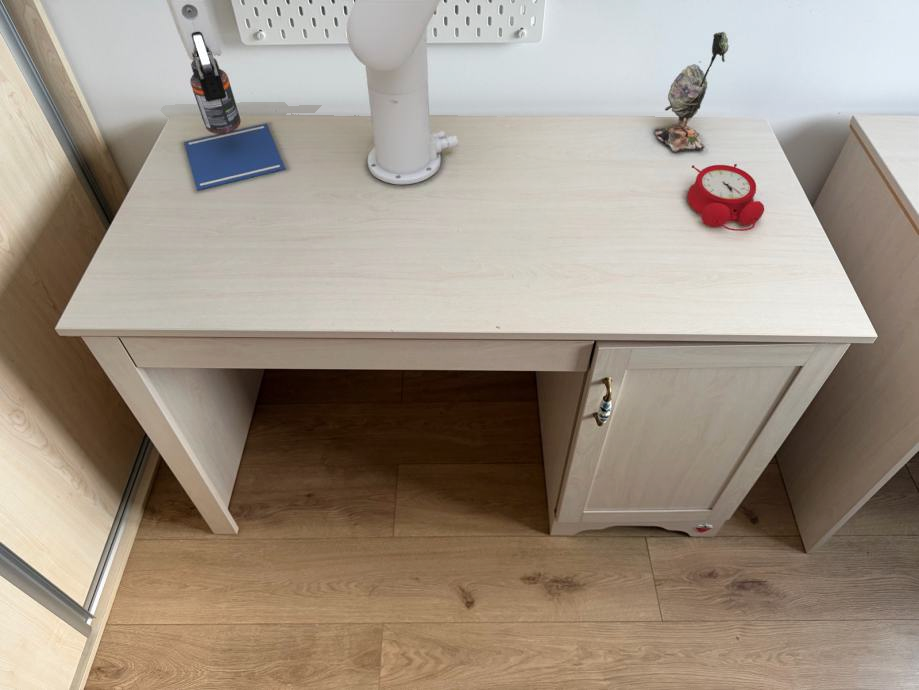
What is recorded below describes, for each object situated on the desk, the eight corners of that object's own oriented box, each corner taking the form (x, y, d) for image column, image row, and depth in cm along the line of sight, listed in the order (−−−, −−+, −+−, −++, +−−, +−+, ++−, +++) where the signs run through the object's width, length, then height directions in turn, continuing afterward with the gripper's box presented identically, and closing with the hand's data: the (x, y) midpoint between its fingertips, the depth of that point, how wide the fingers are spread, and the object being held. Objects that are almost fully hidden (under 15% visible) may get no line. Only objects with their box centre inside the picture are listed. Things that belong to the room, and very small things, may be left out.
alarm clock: (745, 159, 111) (784, 198, 99) (736, 194, 115) (773, 236, 103) (682, 161, 111) (714, 201, 99) (676, 196, 115) (706, 239, 103)
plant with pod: (692, 119, 125) (724, 9, 110) (706, 155, 118) (742, 43, 103) (649, 119, 125) (674, 10, 110) (660, 155, 118) (689, 43, 103)
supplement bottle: (213, 115, 117) (193, 51, 108) (246, 117, 116) (228, 53, 107) (200, 134, 113) (178, 70, 104) (234, 137, 112) (215, 72, 104)
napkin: (266, 124, 125) (266, 123, 125) (285, 169, 116) (285, 167, 116) (184, 143, 122) (183, 141, 121) (197, 190, 113) (196, 189, 113)
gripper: (213, -10, 91) (246, 110, 105) (194, -56, 101) (226, 59, 115) (156, -1, 89) (197, 121, 103) (142, -48, 100) (181, 68, 113)
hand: (212, 87), depth 109 cm, fingers closed on supplement bottle, 5 cm apart
